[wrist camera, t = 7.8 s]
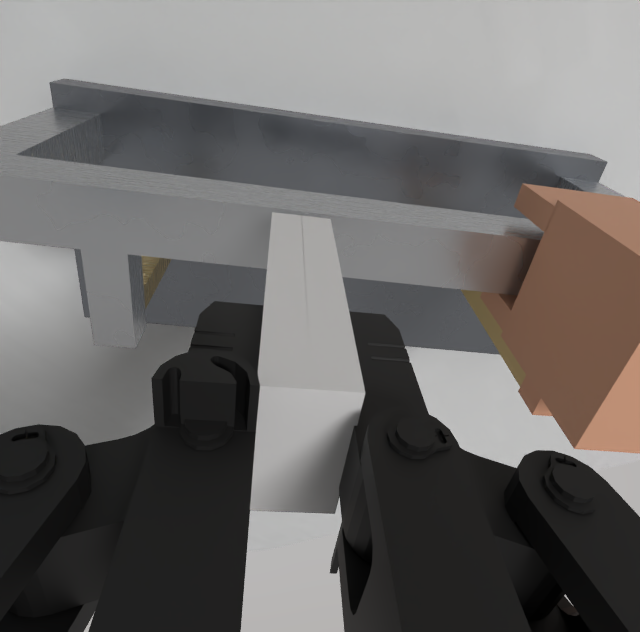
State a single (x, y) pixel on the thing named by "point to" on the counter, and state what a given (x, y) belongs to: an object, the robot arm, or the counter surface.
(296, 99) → the counter surface
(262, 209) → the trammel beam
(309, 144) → the bolt plate
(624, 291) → the block
